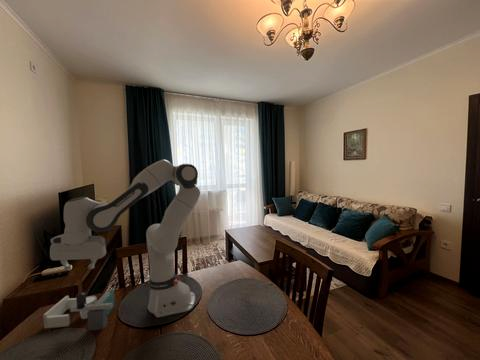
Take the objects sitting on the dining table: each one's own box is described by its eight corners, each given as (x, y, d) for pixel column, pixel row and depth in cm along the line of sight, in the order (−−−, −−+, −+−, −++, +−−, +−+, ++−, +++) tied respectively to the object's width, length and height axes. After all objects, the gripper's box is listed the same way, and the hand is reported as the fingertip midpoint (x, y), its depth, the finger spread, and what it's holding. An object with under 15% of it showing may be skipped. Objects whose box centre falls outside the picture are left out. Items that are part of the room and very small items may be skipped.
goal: (87, 306, 103) (86, 294, 103) (67, 326, 90) (66, 312, 90) (66, 307, 102) (66, 295, 102) (44, 328, 89) (43, 314, 89)
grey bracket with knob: (126, 304, 103) (125, 275, 102) (111, 327, 88) (109, 294, 87) (91, 307, 101) (90, 278, 101) (70, 331, 86) (68, 297, 86)
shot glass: (87, 320, 93) (87, 305, 93) (75, 318, 94) (74, 303, 94) (101, 310, 100) (100, 296, 99) (89, 308, 101) (88, 294, 101)
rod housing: (107, 323, 91) (106, 306, 91) (103, 329, 88) (102, 311, 87) (92, 325, 90) (91, 307, 90) (88, 330, 87) (87, 312, 87)
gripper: (108, 233, 91) (109, 264, 92) (58, 234, 89) (59, 266, 90) (100, 237, 85) (101, 271, 85) (46, 239, 83) (47, 273, 84)
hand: (79, 268), depth 88 cm, fingers open, 8 cm apart
